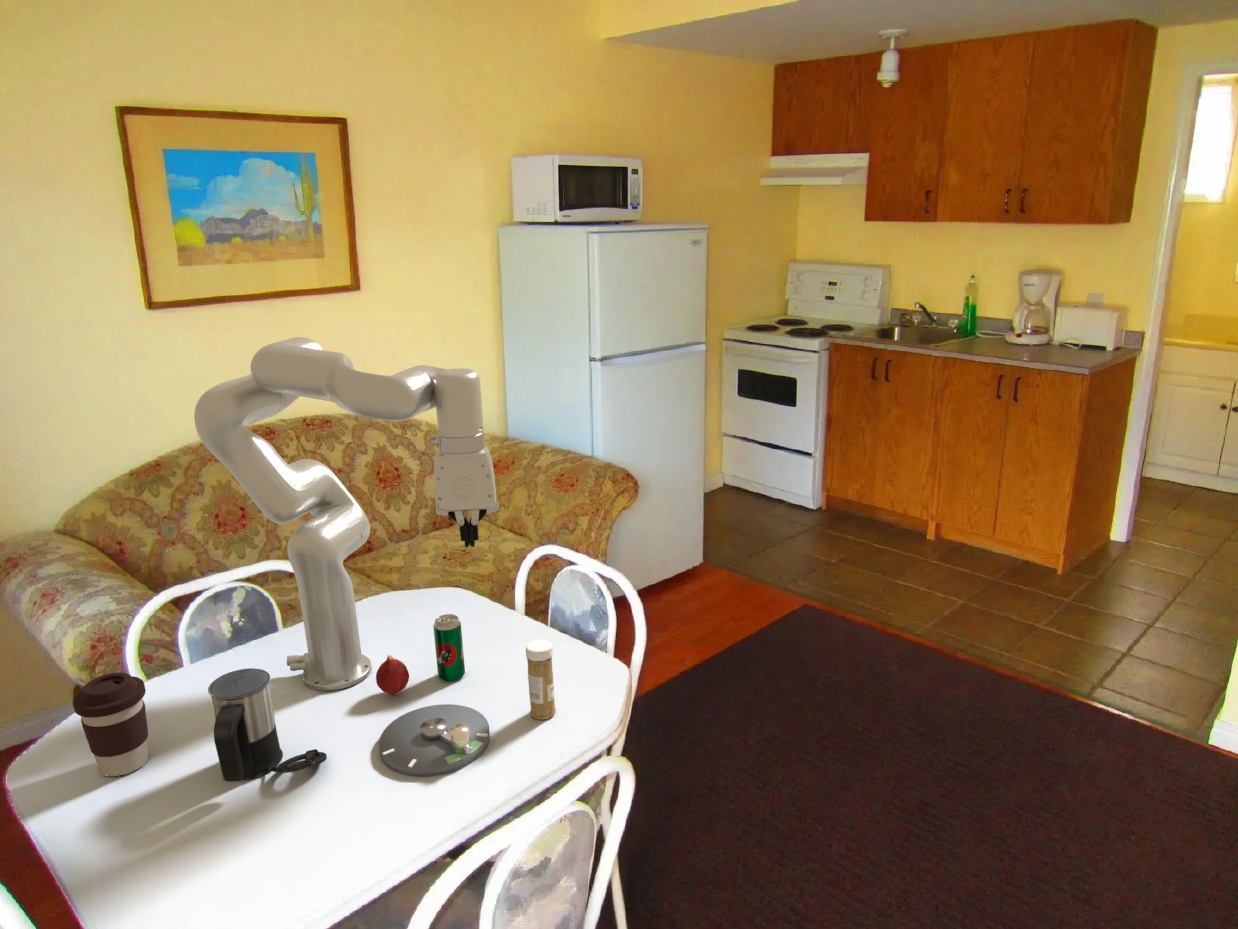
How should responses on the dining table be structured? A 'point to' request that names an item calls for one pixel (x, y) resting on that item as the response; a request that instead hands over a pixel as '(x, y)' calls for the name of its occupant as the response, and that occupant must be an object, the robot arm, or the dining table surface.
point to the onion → (392, 676)
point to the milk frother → (250, 728)
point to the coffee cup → (114, 722)
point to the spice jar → (540, 679)
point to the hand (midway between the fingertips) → (470, 544)
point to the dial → (431, 741)
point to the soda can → (449, 648)
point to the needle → (458, 732)
